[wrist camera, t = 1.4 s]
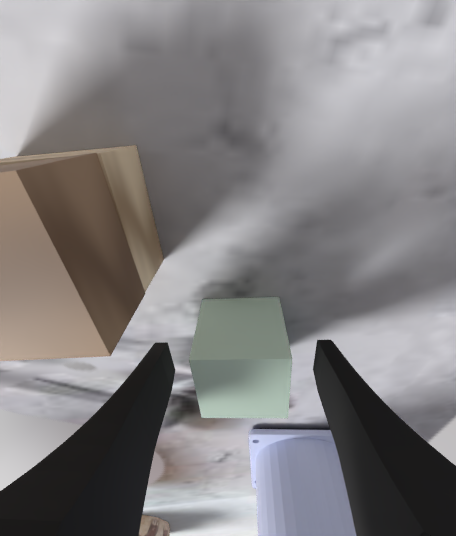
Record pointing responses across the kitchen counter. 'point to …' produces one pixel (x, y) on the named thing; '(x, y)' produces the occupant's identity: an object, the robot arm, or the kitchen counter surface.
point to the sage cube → (241, 359)
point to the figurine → (153, 526)
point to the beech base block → (124, 202)
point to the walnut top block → (62, 261)
